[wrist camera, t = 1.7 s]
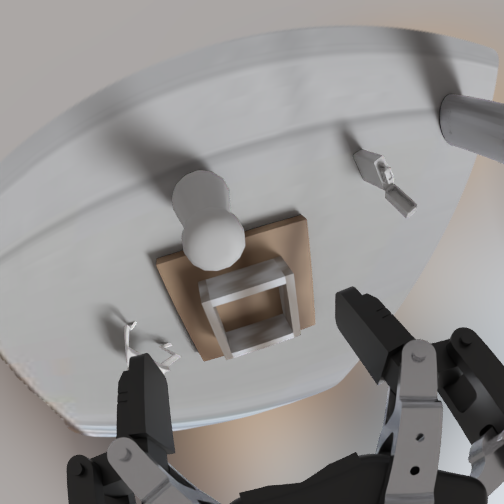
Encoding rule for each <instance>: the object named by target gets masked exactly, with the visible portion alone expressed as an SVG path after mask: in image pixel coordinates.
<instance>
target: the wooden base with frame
mask: <svg viewBox="0 0 504 504" xmlns="http://www.w3.org/2000/svg"><path fill="white" fill-rule="evenodd" d="M244 233H245V248H244V250H243V252H242V254H241V257H240V258H239V259H238V260H237V261H236V262H235V263H234V264H232V265H231V266H230V267H227V268H225V269H222V270H219V271H205V270H203V269H201V268H199V267H197V266H195V265H193V264H192V263H191V261H190V260H189V259H188V258H187V256H186V255H185V253H184V251H183V250H182V251H179V252H176V253H173V254H170V255H167V256H163V257H160V258H157V261H156V266H157V268H158V271H159V273H160V275H161V277H162V279H163V282H164V284H165V286H166V288H167V290H168V292H169V295H170V297H171V299H172V301H173V303H174V305H175V307H176V309H177V311H178V313H179V315H180V317H181V319H182V321H183V323H184V325H185V327H186V329H187V331H188V333H189V335H190V337H191V339H192V340H193V342H194V344H195V346H196V348H197V350H198V352H199V353H200V355H201V357H202V359H203V361H207V360H211V359H214V358H218V357H221V356H225V358H226V360H228V359H231V358H235V357H238V356H241V355H244V354H248V353H251V352H254V351H257V350H260V349H263V348H266V347H269V346H272V345H274V344H277V343H280V342H283V341H286V340H289V339H291V338H294V337H297V336H299V335H301V331H300V330H302V329H305V328H307V327H310V326H312V325H315V310H314V294H313V281H312V268H311V257H310V246H309V236H308V227H307V219H306V218H305V217H303V216H302V215H299V216H296V217H292V218H289V219H285V220H282V221H278V222H275V223H271V224H268V225H265V226H261V227H258V228H254V229H251V230H248V231H244Z"/></svg>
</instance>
